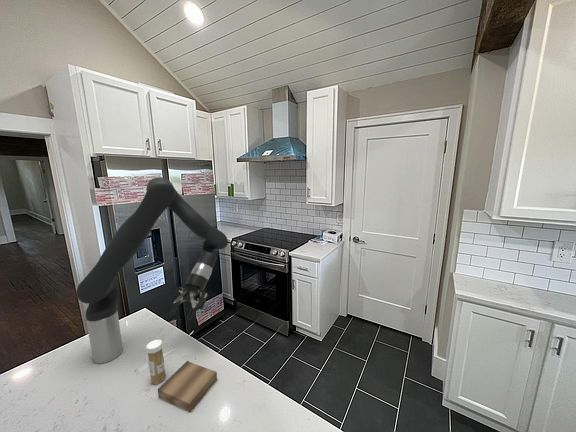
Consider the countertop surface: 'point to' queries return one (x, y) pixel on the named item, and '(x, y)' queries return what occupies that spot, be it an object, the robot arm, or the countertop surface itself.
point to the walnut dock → (187, 385)
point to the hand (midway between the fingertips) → (180, 317)
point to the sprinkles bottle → (156, 361)
